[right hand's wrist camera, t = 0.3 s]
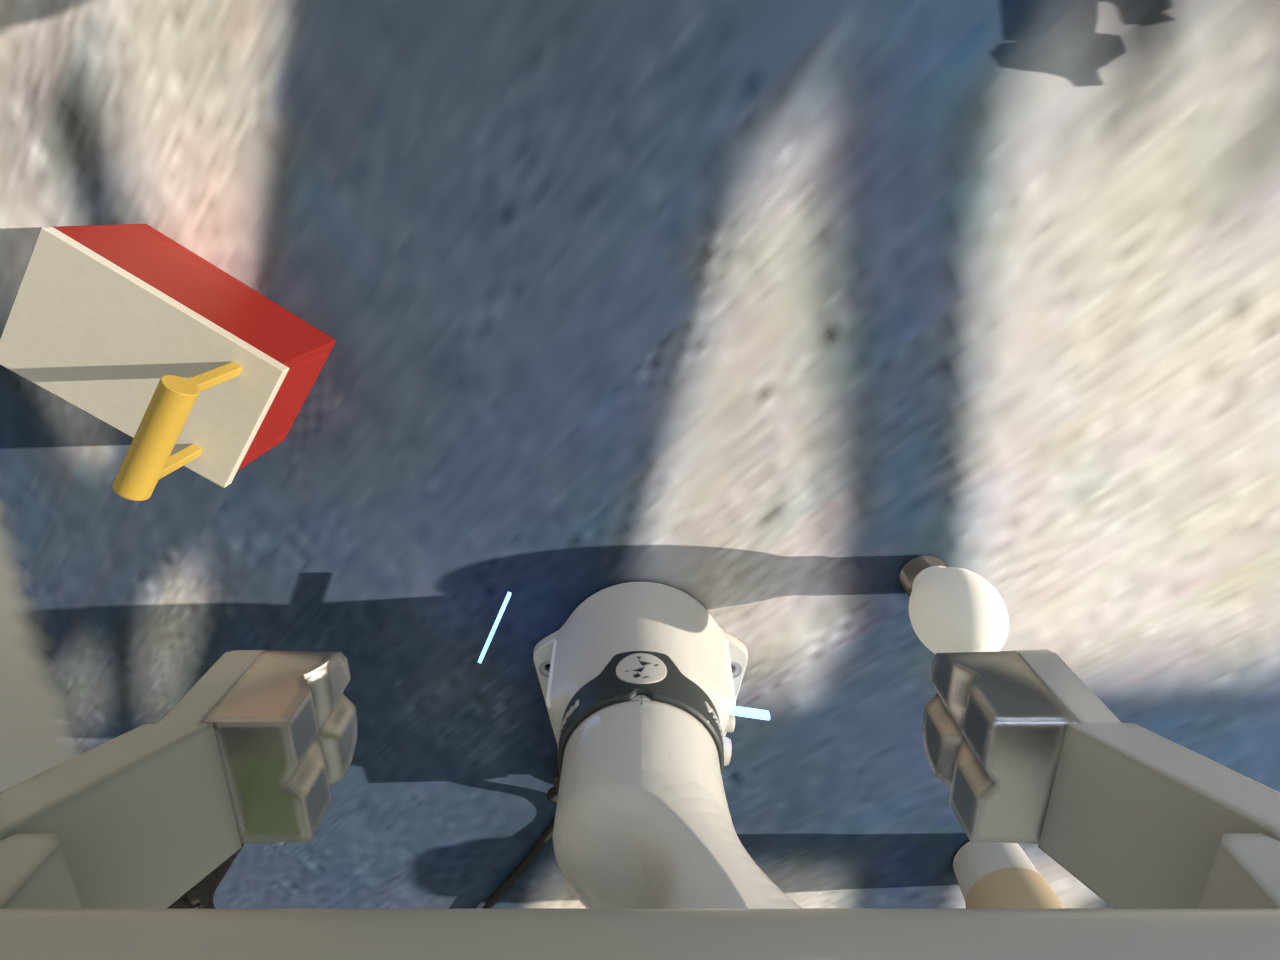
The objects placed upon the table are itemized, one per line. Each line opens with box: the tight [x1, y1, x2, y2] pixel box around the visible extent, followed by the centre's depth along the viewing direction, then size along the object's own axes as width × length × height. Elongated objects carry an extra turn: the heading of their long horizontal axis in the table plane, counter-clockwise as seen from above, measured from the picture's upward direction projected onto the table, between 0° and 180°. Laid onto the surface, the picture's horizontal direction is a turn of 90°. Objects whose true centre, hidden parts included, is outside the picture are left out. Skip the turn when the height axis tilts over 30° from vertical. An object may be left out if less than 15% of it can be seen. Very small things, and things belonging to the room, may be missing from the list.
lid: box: [0, 227, 289, 501], centre depth 44 cm, size 16×10×8 cm, turn 56°
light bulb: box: [900, 556, 1009, 654], centre depth 58 cm, size 7×7×11 cm
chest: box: [54, 224, 336, 471], centre depth 52 cm, size 15×10×9 cm, turn 56°
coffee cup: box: [953, 841, 1065, 909], centre depth 67 cm, size 9×9×15 cm
